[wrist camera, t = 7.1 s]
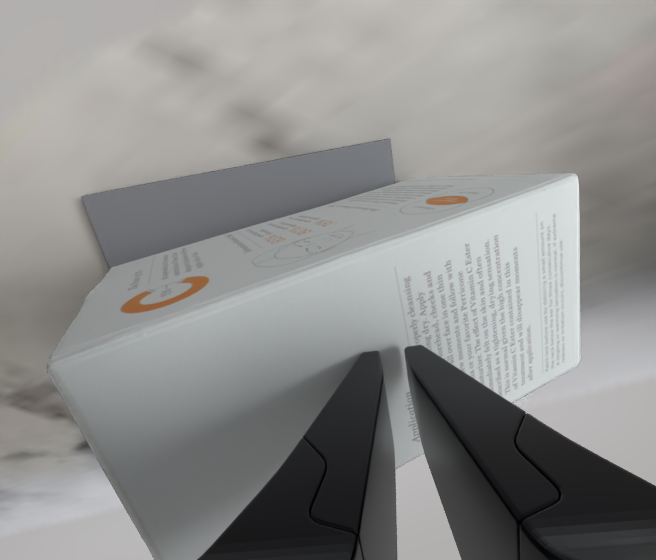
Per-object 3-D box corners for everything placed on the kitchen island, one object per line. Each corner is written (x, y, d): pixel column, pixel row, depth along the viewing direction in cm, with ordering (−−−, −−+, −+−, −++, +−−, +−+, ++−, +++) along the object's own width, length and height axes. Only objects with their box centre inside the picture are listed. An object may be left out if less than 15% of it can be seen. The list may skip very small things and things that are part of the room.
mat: (388, 138, 17) (390, 138, 16) (413, 349, 21) (414, 356, 20) (91, 194, 19) (80, 196, 18) (162, 376, 23) (155, 384, 22)
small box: (430, 300, 19) (169, 408, 15) (411, 175, 17) (105, 263, 13) (588, 371, 12) (169, 608, 8) (588, 168, 10) (28, 357, 6)
